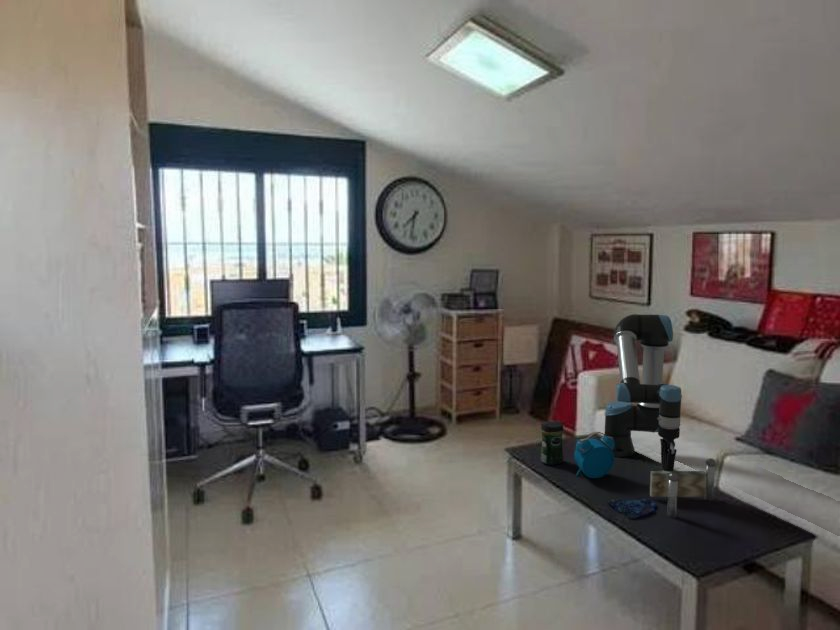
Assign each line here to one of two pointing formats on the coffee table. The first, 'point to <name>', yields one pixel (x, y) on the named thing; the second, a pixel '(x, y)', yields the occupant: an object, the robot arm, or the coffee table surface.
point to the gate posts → (674, 486)
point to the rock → (631, 507)
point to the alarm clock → (594, 456)
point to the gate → (687, 483)
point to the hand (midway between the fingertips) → (666, 485)
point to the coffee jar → (552, 442)
